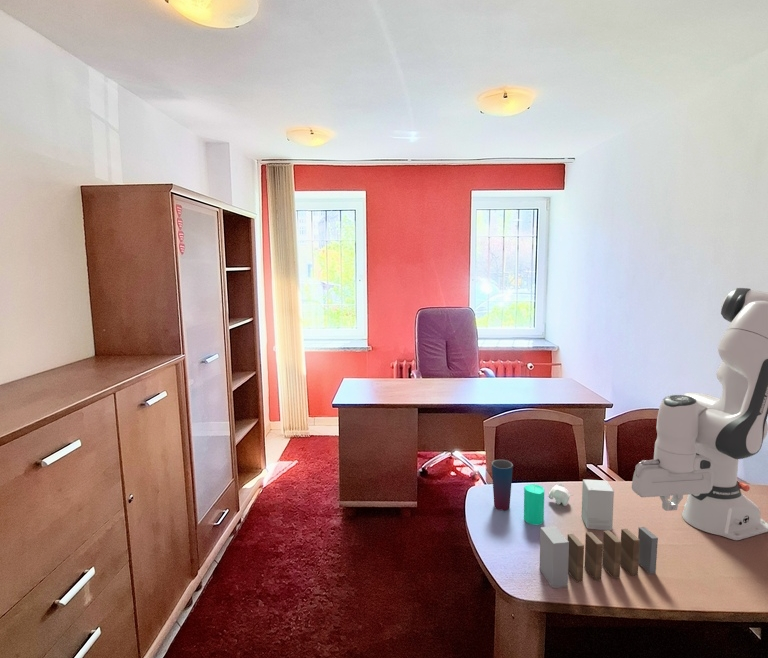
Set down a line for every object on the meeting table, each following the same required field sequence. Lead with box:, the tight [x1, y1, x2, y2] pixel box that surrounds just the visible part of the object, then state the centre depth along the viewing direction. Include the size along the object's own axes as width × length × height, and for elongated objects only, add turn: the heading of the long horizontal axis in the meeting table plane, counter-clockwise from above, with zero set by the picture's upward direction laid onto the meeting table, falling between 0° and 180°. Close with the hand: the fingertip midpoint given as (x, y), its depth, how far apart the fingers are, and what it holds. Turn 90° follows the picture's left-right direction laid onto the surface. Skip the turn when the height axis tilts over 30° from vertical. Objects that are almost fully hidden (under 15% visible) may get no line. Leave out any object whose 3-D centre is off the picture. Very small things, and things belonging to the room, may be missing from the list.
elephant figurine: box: [547, 482, 573, 507], centre depth 150 cm, size 7×8×6 cm
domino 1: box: [567, 533, 585, 583], centre depth 115 cm, size 2×5×10 cm, turn 6°
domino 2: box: [584, 531, 603, 581], centre depth 115 cm, size 2×5×10 cm, turn 6°
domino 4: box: [620, 528, 640, 577], centre depth 116 cm, size 2×5×10 cm, turn 6°
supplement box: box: [581, 479, 615, 531], centre depth 137 cm, size 7×7×13 cm
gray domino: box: [637, 526, 659, 575], centre depth 117 cm, size 2×5×10 cm, turn 7°
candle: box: [523, 483, 545, 526], centre depth 140 cm, size 6×6×12 cm
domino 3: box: [602, 530, 621, 579], centre depth 116 cm, size 2×5×10 cm, turn 6°
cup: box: [491, 459, 514, 511], centre depth 148 cm, size 7×7×15 cm
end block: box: [539, 525, 569, 589], centre depth 114 cm, size 4×7×12 cm, turn 6°
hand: (669, 509), depth 116 cm, fingers closed
